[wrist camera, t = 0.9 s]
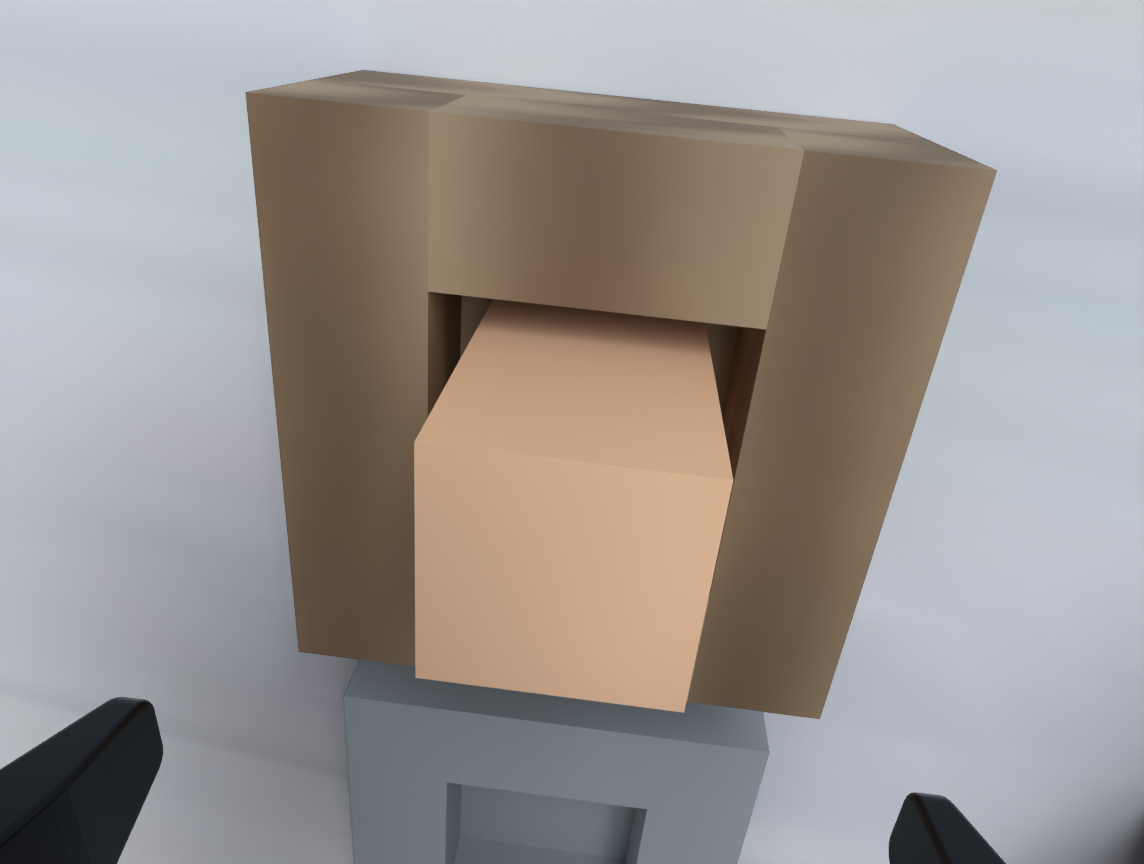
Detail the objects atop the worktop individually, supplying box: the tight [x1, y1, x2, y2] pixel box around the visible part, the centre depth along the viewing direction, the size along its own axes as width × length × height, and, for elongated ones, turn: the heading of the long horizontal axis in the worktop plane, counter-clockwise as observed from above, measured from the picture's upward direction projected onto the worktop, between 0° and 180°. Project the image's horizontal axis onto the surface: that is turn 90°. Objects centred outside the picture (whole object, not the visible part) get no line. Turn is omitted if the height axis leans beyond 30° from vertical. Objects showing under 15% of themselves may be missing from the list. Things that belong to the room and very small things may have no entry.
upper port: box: [246, 70, 997, 719], centre depth 18 cm, size 12×12×6 cm
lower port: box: [343, 660, 769, 864], centre depth 27 cm, size 12×12×4 cm
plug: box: [414, 299, 733, 713], centre depth 15 cm, size 4×4×7 cm
